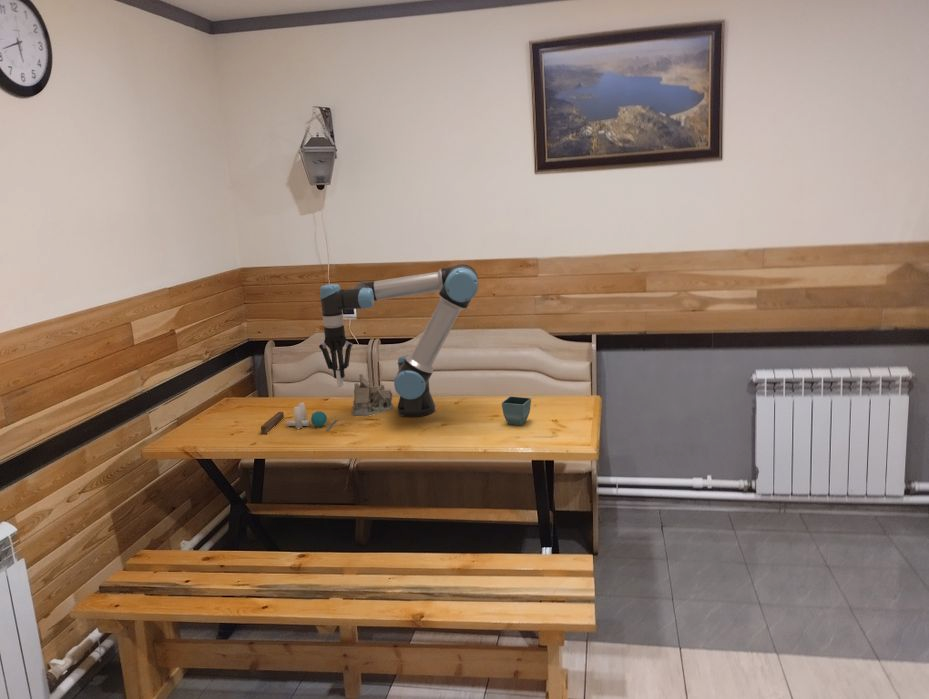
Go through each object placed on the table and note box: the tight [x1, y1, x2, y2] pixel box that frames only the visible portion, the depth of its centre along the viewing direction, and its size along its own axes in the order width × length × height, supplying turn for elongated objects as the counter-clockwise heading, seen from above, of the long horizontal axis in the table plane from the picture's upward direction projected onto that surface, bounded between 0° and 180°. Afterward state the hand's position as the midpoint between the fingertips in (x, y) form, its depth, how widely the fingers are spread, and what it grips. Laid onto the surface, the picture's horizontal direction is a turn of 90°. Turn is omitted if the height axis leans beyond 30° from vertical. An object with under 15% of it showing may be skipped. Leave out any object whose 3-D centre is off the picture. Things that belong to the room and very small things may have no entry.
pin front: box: [286, 419, 311, 427], centre depth 303 cm, size 2×2×8 cm
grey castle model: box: [351, 373, 394, 417], centre depth 316 cm, size 16×16×15 cm
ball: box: [310, 410, 328, 428], centre depth 301 cm, size 6×6×6 cm
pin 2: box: [297, 402, 307, 420], centre depth 305 cm, size 2×2×8 cm
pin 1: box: [293, 405, 303, 429], centre depth 300 cm, size 2×2×8 cm
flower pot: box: [501, 395, 532, 426], centre depth 290 cm, size 9×9×9 cm
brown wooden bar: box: [260, 411, 285, 435], centre depth 305 cm, size 2×18×3 cm, turn 171°
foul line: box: [325, 419, 339, 432], centre depth 301 cm, size 1×12×1 cm, turn 171°
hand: (340, 386), depth 297 cm, fingers closed
